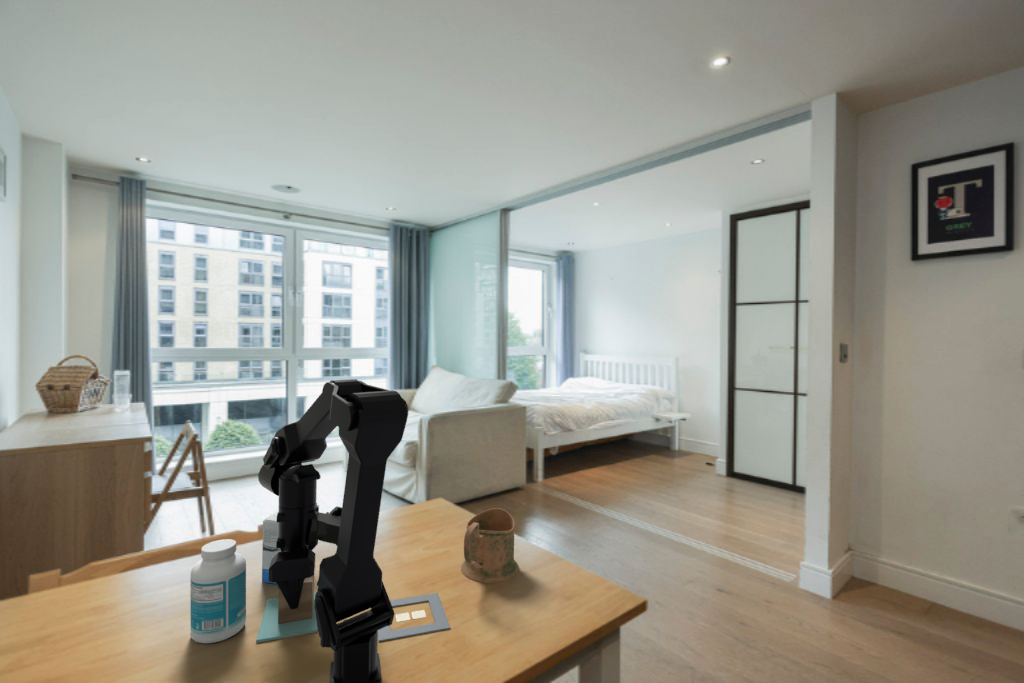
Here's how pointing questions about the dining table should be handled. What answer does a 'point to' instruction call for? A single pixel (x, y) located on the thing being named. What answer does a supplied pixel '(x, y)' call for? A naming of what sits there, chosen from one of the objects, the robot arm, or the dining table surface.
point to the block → (304, 606)
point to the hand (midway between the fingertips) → (296, 597)
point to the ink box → (269, 544)
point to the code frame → (437, 612)
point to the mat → (283, 624)
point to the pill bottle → (218, 592)
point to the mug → (490, 547)
